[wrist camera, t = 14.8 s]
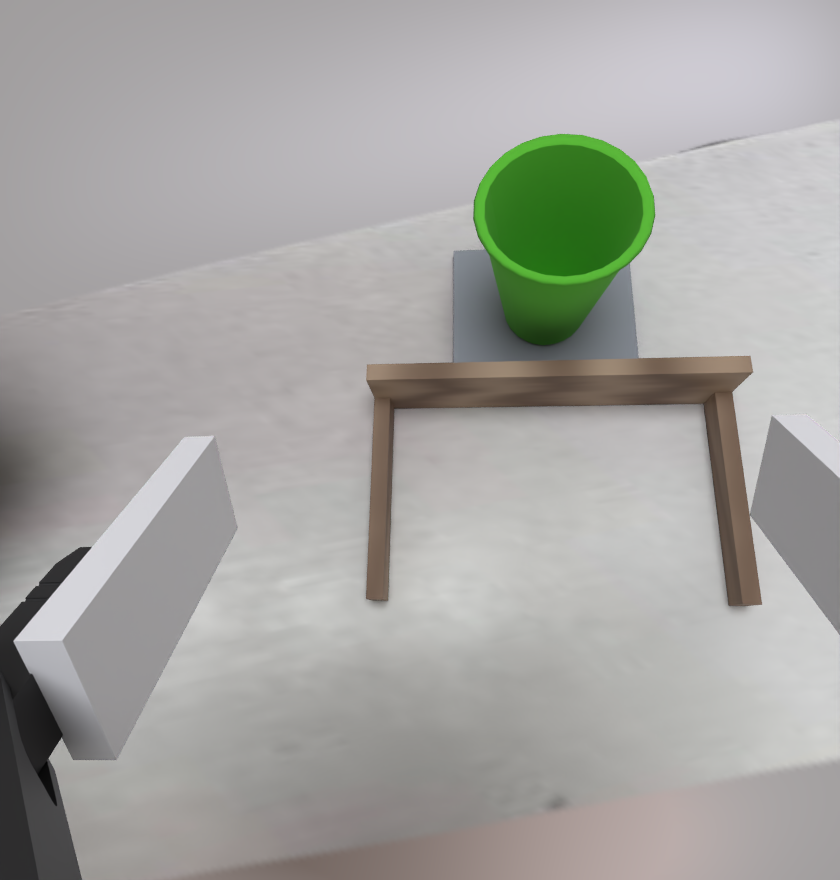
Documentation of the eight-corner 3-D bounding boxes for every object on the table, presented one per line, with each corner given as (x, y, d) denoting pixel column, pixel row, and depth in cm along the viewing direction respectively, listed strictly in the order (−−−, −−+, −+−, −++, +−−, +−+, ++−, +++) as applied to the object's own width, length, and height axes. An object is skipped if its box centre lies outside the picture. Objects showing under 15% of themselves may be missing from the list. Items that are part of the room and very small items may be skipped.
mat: (453, 386, 41) (453, 382, 40) (454, 257, 44) (453, 250, 43) (637, 383, 40) (640, 378, 39) (625, 250, 43) (627, 244, 42)
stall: (371, 600, 38) (356, 596, 33) (380, 394, 42) (367, 364, 37) (746, 605, 36) (788, 602, 31) (717, 388, 39) (750, 355, 35)
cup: (586, 393, 39) (622, 307, 29) (455, 347, 41) (445, 251, 31) (630, 277, 41) (679, 158, 31) (504, 238, 43) (510, 114, 33)
